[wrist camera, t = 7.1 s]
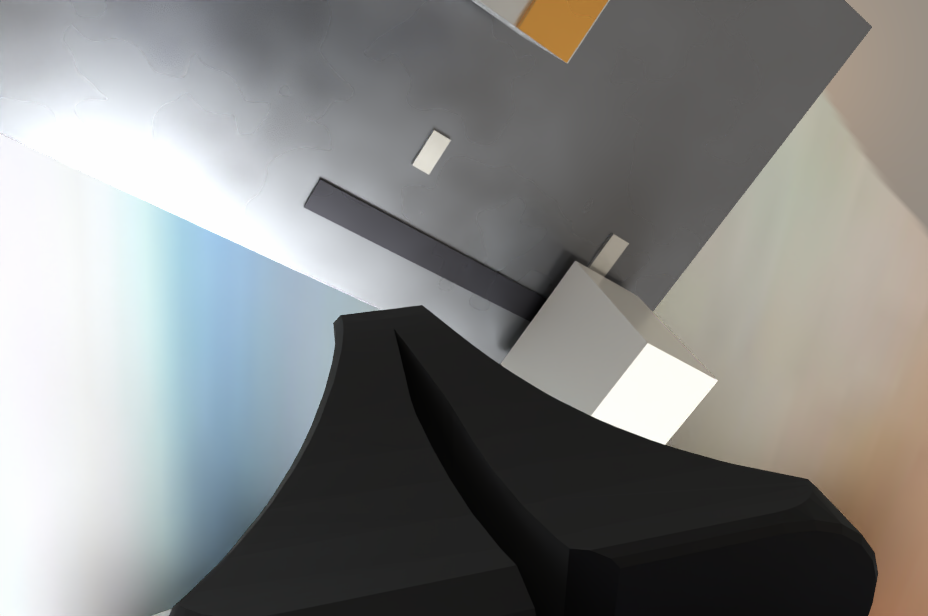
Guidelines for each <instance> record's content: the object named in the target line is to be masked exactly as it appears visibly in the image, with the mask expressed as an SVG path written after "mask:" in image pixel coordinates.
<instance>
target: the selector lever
mask: <svg viewBox="0 0 928 616" xmlns="http://www.w3.org/2000/svg"><path fill="white" fill-rule="evenodd" d="M472 1H473V2H475V3H476V4H477V5H479V6H480V7H482V8H483V9H484V10H486V11H487V12H489V13H490V14H491V15H493V16H494V17H496V18H497V19H498V20H500V21H501V22H503V23H504V24H506V25H507V26H508V27H510V28H511V29H513V30H514V31H515V32H517V33H518V34H520V35H521V36H522V37H524V38H526V39H527V40H529V41H531V42H532V43H534V44H535V45H537V46H539V47H540V48H542V49H544V50H545V51H547V52H549V53H550V54H552V55H554V56H555V57H557V58H559V59H560V60H562V61H564V62H565V63H567V64H568V63H569V61H570V59H571V58H572V56H573V55H574V53H575V52H576V50H577V49H578V47H579V46H580V44H581V43H582V41H583V40H584V38H585V37H586V35H587V34H588V32H589V31H590V29H591V28H592V26H593V25H594V23H595V22H596V20H597V19H598V17H599V16H600V14H601V13H602V11H603V10H604V8H605V7H606V5H607V4H608V2H609V1H610V0H472Z"/></svg>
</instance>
